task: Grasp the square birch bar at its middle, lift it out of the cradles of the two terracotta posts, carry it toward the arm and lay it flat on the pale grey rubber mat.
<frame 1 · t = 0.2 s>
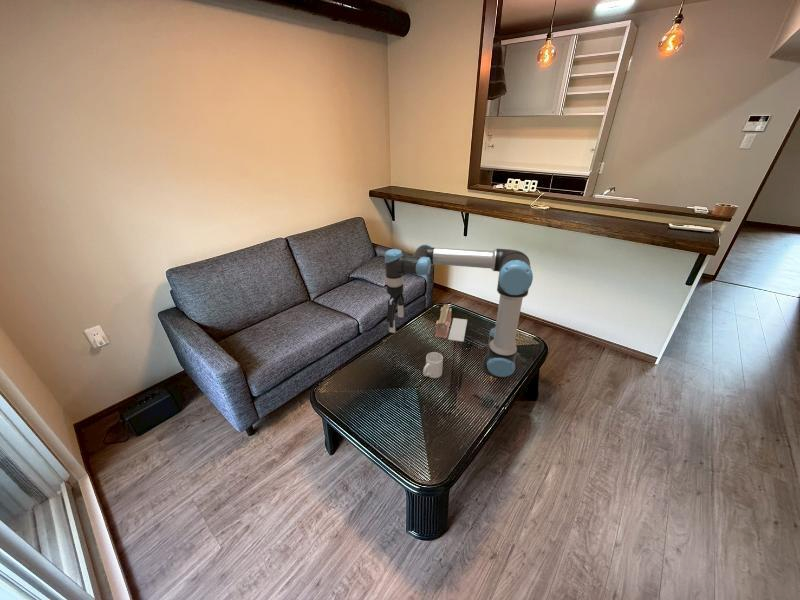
hand: (396, 324, 145), 28 cm above the table, fingers open, 13 cm apart
rail: (443, 318, 186), point 7 cm above the table, touching stand
stand: (443, 327, 190), on the table
mat: (458, 329, 187), on the table
mug: (431, 375, 153), on the table
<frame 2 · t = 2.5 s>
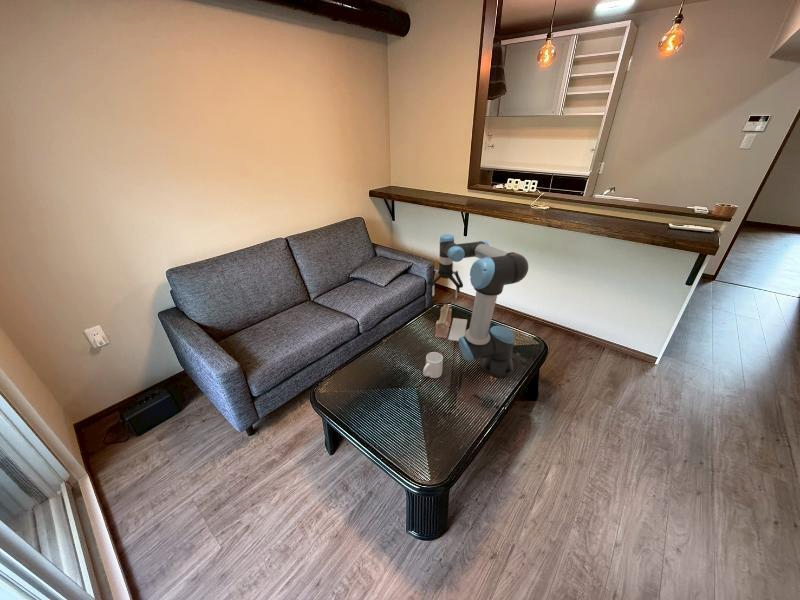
hand: (444, 296, 179), 23 cm above the table, fingers open, 13 cm apart
nothing on the table moved.
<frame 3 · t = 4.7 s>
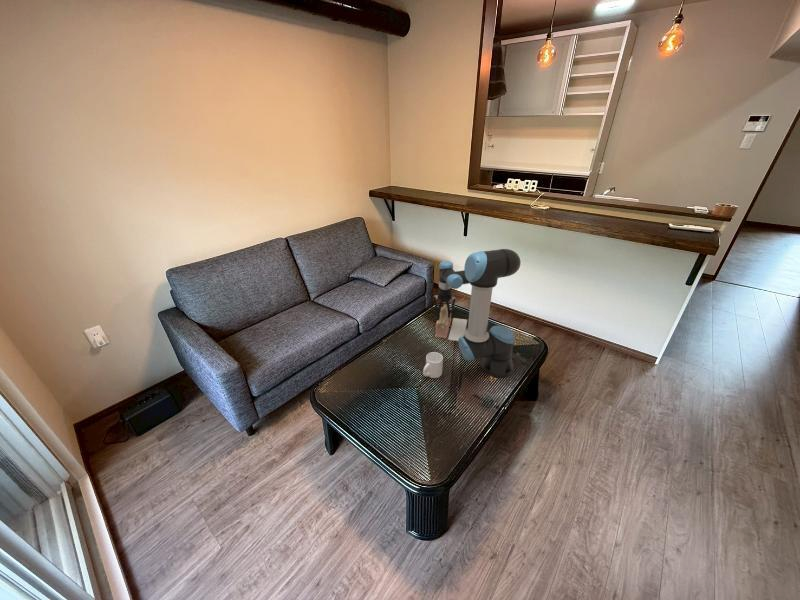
hand: (443, 321, 187), 5 cm above the table, fingers closed on rail, 3 cm apart
rail: (443, 318, 186), point 7 cm above the table, touching gripper, stand
everything else where it was.
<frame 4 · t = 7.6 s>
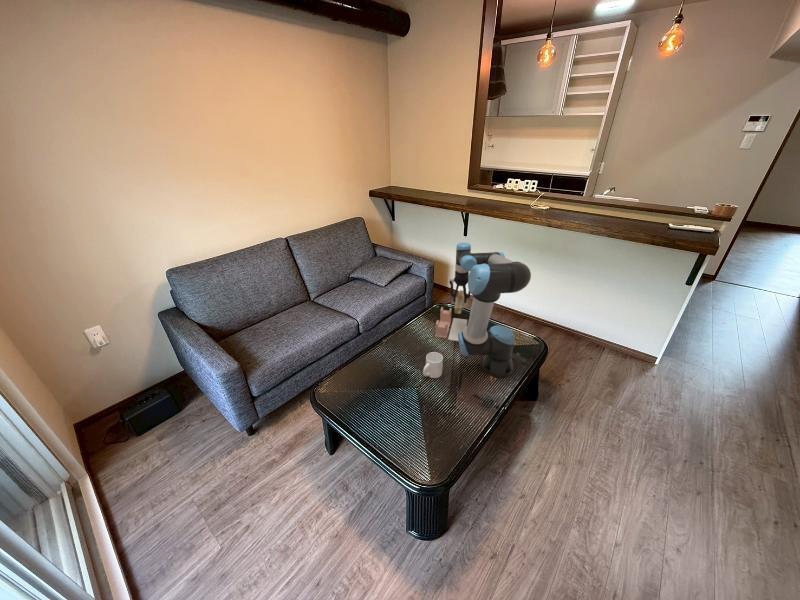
hand: (459, 306, 180), 16 cm above the table, fingers closed on rail, 3 cm apart
rail: (459, 304, 179), point 18 cm above the table, touching gripper
everything else where it was.
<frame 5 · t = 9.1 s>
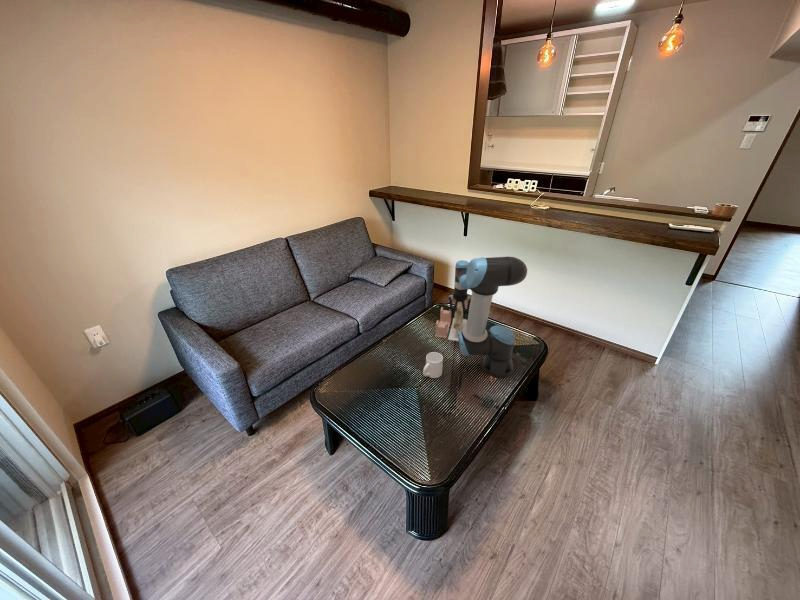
hand: (458, 321, 185), 6 cm above the table, fingers closed on rail, 3 cm apart
rail: (458, 318, 184), point 8 cm above the table, touching gripper
everything else where it was.
when the fingers open (2 cm above the table, at t = 10.3 s): rail drops 3 cm, resting on mat.
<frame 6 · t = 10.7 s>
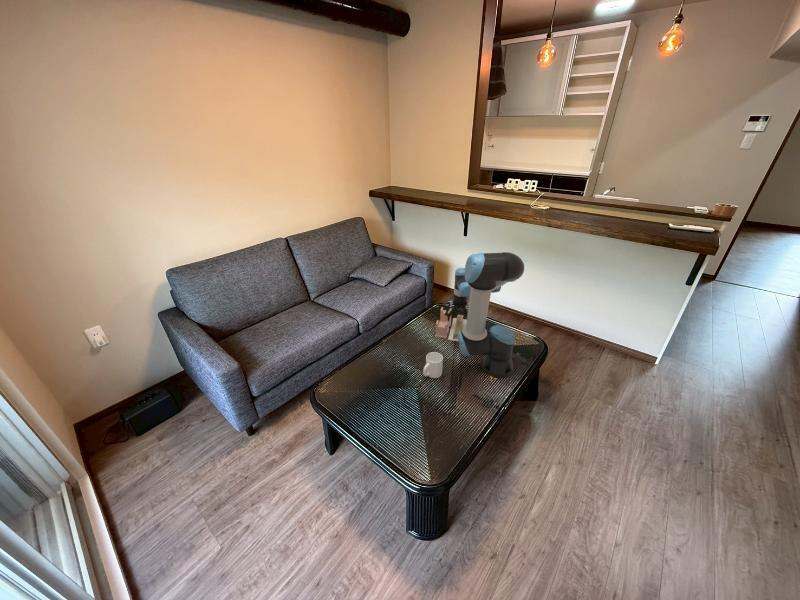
hand: (458, 326, 186), 3 cm above the table, fingers open, 9 cm apart
rail: (458, 328, 187), point 1 cm above the table, touching mat
everything else where it was.
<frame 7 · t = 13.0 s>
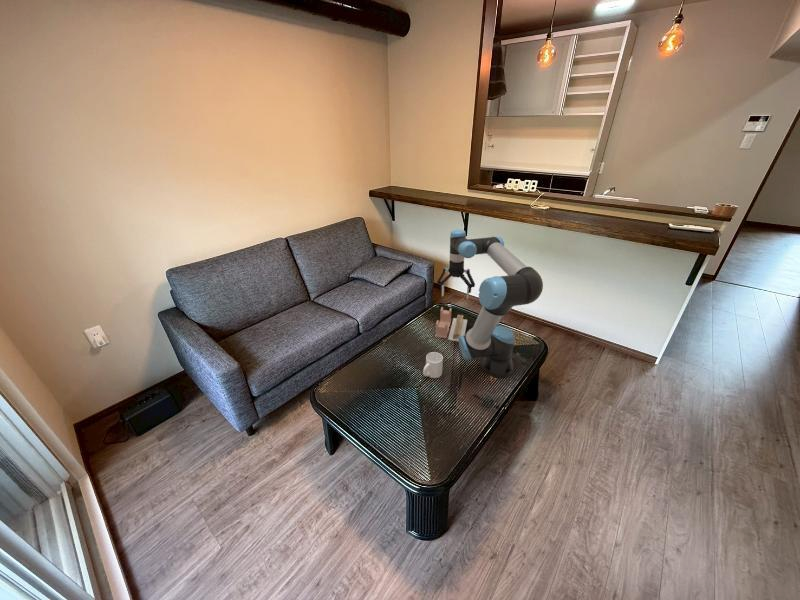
hand: (455, 296, 167), 28 cm above the table, fingers open, 13 cm apart
nothing on the table moved.
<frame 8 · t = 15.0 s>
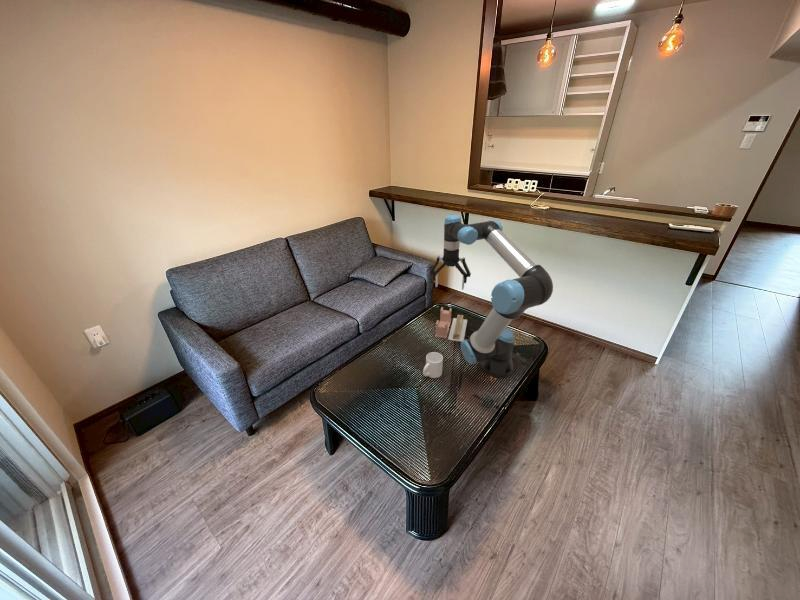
hand: (449, 287, 158), 37 cm above the table, fingers open, 13 cm apart
nothing on the table moved.
at the end: rail inside the target area (0.2 cm from its centre), point 0.6 cm above the table; rail touching mat; the gripper is holding nothing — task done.
